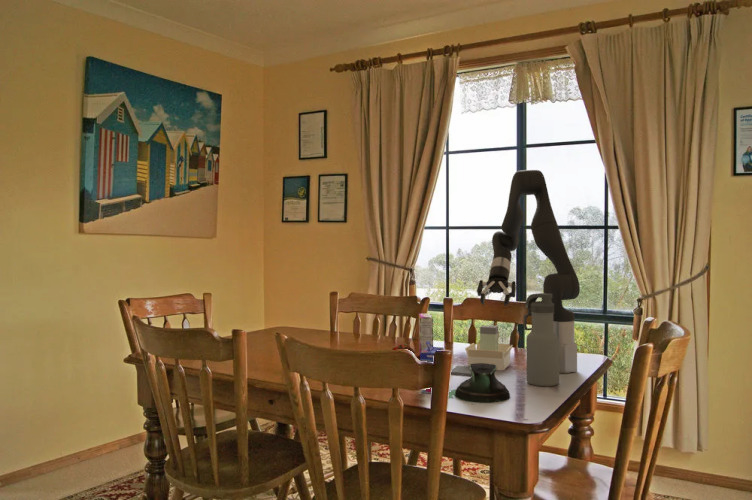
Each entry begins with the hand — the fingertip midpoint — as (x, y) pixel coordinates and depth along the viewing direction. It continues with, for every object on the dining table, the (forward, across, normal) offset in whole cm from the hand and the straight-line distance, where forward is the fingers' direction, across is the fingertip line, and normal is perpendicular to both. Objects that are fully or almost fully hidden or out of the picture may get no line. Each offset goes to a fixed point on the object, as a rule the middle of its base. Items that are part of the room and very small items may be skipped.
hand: (494, 303), depth 227 cm
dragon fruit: (+31, -29, -1) cm, 42 cm away
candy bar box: (+19, -25, +11) cm, 33 cm away
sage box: (+23, +1, +6) cm, 24 cm away
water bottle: (+37, +21, -8) cm, 44 cm away
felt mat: (+32, -4, -3) cm, 32 cm away
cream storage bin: (+23, +1, +6) cm, 24 cm away
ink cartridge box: (+51, -8, -22) cm, 56 cm away
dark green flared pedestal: (+53, +7, -24) cm, 58 cm away
